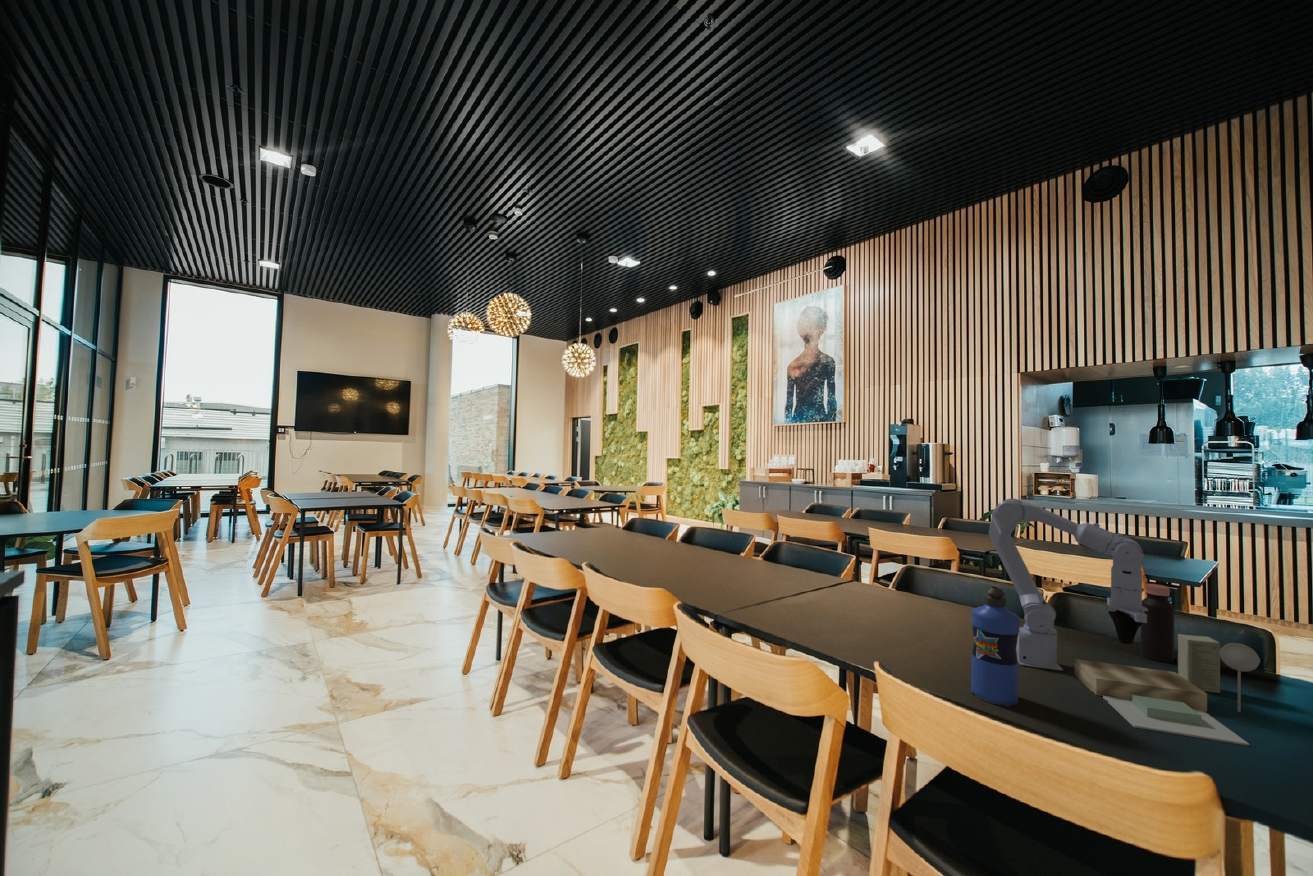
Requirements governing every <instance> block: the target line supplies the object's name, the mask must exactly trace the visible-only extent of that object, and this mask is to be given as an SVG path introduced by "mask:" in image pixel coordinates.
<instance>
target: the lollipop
mask: <svg viewBox="0 0 1313 876" xmlns="http://www.w3.org/2000/svg"><path fill="white" fill-rule="evenodd" d="M1219 654H1220V660H1222V662H1223V663H1224V664H1225V665H1226V666H1228V667H1229V668H1231V669H1233V670H1235V671H1237V697H1236V698H1237V703H1236V704H1237V705H1236V706H1237V710H1236V711H1237V712H1238V713H1241V701H1242V699H1241V691H1242V689H1241V688H1242V687H1241V686H1242V685H1241V684H1242V683H1241V682H1242V680H1241V678H1242V677H1241V675H1242V672H1245V673H1246V672H1251V671H1254V670H1256V669H1257V668H1258V667H1259V666H1260V663H1261V659H1260V657H1259V655H1258V653H1257V652H1256V651H1255V650H1254V649H1253V648H1252V647H1250V646H1247V645H1246V644H1243V643H1239V642H1229V643H1226V644H1225V645H1223V646H1222V647H1220V651H1219Z"/></svg>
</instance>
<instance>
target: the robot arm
mask: <svg viewBox="0 0 1313 876" xmlns="http://www.w3.org/2000/svg"><path fill="white" fill-rule="evenodd" d="M1022 519H1023V522H1027V523H1028V522H1029V523H1030V522H1038V523H1039V522H1040V523H1042V524H1045V525H1046V526H1049V527H1052V528H1054V529H1057V530H1060V531H1062V532H1065V533H1068V534H1070V535H1072V536H1073V537H1074V539H1075V542H1076V543H1077V544H1080V545H1083V546H1084V547H1087V548H1090V549H1092V550H1093V551H1096V552H1099V553H1102V554H1104V555H1111V557H1112V566H1111V567H1110V569H1111V570H1110V573H1111V574H1110V582H1111V583H1110V597H1106V601H1107V602H1106V605H1107V606H1109V607H1110V608H1112V609H1115V611H1114V610H1109V611H1107V613H1108V615H1109V616H1110V618H1111V620H1112V623H1113V625H1114V628H1115V631H1116V635H1117V639H1118V642H1120V644H1124V645H1125V644H1126V645H1133V642H1134V640H1135V637H1136V634H1137V632H1138V630H1139V628H1141V624H1142V623H1147V615H1146V614H1145V613H1144V611H1148V609H1147V608H1146V607H1143V606H1142V600H1143V570H1141V569H1142V564H1143V563H1142V561H1143V559H1144V557H1145V554H1144V551H1143V549H1142V547H1141V546H1140V544H1139V543H1138V542H1137V541H1135V540H1133V539H1132V538H1131V537H1126V536H1124V535H1123V534H1122V533H1119V532H1118V533H1114V532H1112V531H1109V530H1107V529H1105V528H1102V527H1100V526H1101V525H1100V524H1098V523H1096V522H1093V524H1092V523H1090V522H1085V523H1080V524H1079V523H1076V521H1073V520H1070V519H1068V518H1066V517H1063V516H1061V515H1059V514H1056V513H1055V512H1052V511H1050V510H1048V509H1045V508H1044V507H1041V506H1038V505H1035V504H1032V503H1030V502H1026V501H1021V500H1020V499H1018V498H1017V499H1016V498H1007V499H1005V500H1002V501H1000V502H999V503H998V504H997V505H996V506H995V508H994V509H993V511H992V512H991V519H990V524H989V528H988V529H989V530H988V536H989V538H990V540H991V543H992V545H993V546H994V549H995V550H996V553H997V554H998V557H999V558H1000V560H1001V562H1002V564H1003V566H1004V569H1005V571H1006V573H1007V574H1008V576H1009V579H1010V581H1011V583H1012V584H1013V587H1014V588H1015V590H1016V593H1017V595H1018V597H1019V600H1020V604H1021V607H1022V609H1023V612H1024V617H1023V618H1024V622H1025V623H1024V624H1023V626H1020V628H1019V633H1018V640H1017V646H1016V653H1017V660H1018V665H1021V666H1026V667H1032V668H1033V667H1034V668H1040V669H1046V670H1055V671H1059V672H1060V671H1061V672H1063V671H1064V669H1063V668H1062V667H1061V665H1060V664H1058V663H1057V662H1058V660H1057V657H1058V656H1057V655H1058V654H1057V652H1058V651H1057V650H1058V631H1057V629H1056V628H1055V627H1054V625H1055V620H1056V618H1057V612H1056V610H1055V608H1054V607H1053V606H1052V605H1051V604H1049V603H1048V602H1047V600H1046V599H1045V597H1044V595H1043V594H1042V593H1041V592H1040V590H1039V589H1038V587H1037V585H1036V583H1035V581H1034V579H1033V577H1032V575H1031V572H1030V571H1029V569H1028V567H1027V565H1026V563H1025V560H1024V559H1023V558H1022V555H1021V554H1020V552H1019V549H1018V548H1017V546H1016V544H1015V541H1014V540H1013V538H1012V533H1013V531H1014V529H1015V527H1016V525H1017V524H1018V523H1019V522H1020V521H1021V520H1022Z"/></svg>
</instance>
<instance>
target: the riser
mask: <svg viewBox="0 0 1313 876" xmlns="http://www.w3.org/2000/svg"><path fill="white" fill-rule="evenodd" d="M1075 675H1076V676H1075ZM1074 676H1075V677H1076V678H1077V679H1078V680H1079V681H1080V682H1082V683H1083V685H1085V686H1086V688H1088V689H1089V690H1090V691H1091V692H1092V691H1093V692H1094V693H1095V694H1094V693H1093V692H1092V693H1093V694H1094V695H1095V696H1096V695H1098V696H1097V697H1102V695H1103V696H1109V697H1116V698H1123V699H1129V700H1132V695H1136V696H1142V697H1149V698H1156V699H1163V700H1170V701H1177V702H1184V703H1185V704H1186V705H1188V706H1189V707H1190V708H1192V709H1197V710H1203V711H1204V712H1206V713H1207V712H1208V693H1207V692H1206V691H1202V690H1201V689H1199V688H1198V687H1196V686H1195V685H1193V684H1192V683H1190V682H1189V681H1187V680H1186V679H1184V678H1183V677H1181V676H1180V675H1178V672H1175V671H1169V670H1162V669H1155V668H1154V669H1153V668H1145V667H1139V666H1133V665H1124V664H1116V663H1107V662H1102V661H1091V660H1084V659H1078V658H1074Z"/></svg>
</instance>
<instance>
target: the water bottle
mask: <svg viewBox="0 0 1313 876" xmlns="http://www.w3.org/2000/svg"><path fill="white" fill-rule="evenodd" d="M985 593H986V594H985V595H984V603H985V604H984V605H981V606H978V607H974V608H971V618H970V619H971V620H970V622H971V623H970V624H971V626H972V627H971V628H972V634H973V646H972V652H971V666H970V667H971V669H970V670H971V671H970V672H971V676H970V678H971V680H970V682H971V683H970V684H971V686H970V692H971V691H972V692H973V693H974V694H975V695H976V696H979V697H980V698H982V699H984V700H987V701H989V702H993V703H995V704H999V705H1015V704H1018V702H1019V701H1018V699H1019V663H1018V660H1017V653H1016V646H1017V640H1018V633H1019V628H1020V627H1021V626H1020V619H1021V617H1020V616H1019V615H1017V614H1016V613H1014V612H1013V611H1010V610H1009V609H1008V608H1007V598H1006V597H1005V595H1006V593H1005V592H1004V591H1003V589H1002V588H1001V587H998V586H990V587H989V588H988V589H986V590H985ZM999 705H998V706H999ZM1015 706H1016V705H1015Z"/></svg>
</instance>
